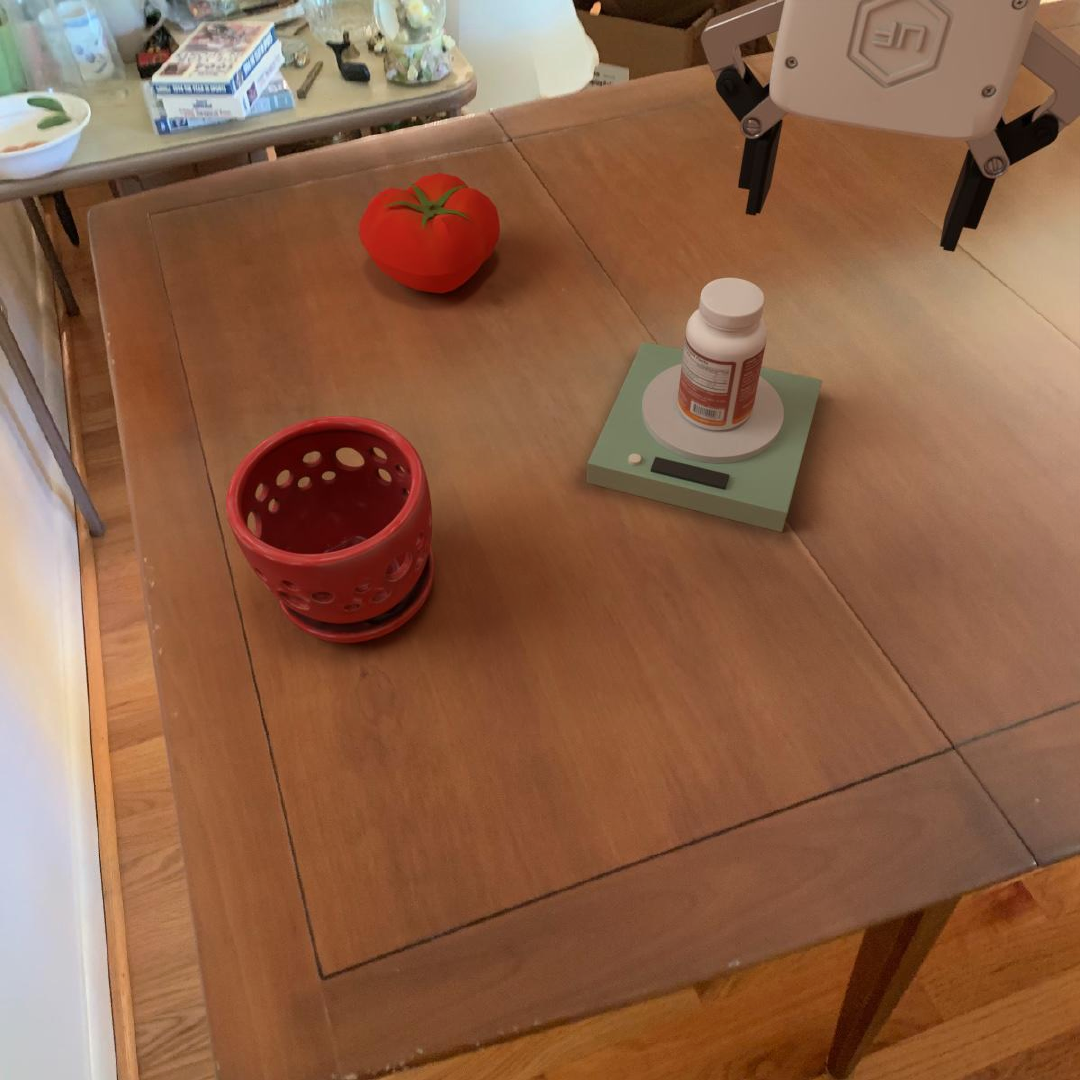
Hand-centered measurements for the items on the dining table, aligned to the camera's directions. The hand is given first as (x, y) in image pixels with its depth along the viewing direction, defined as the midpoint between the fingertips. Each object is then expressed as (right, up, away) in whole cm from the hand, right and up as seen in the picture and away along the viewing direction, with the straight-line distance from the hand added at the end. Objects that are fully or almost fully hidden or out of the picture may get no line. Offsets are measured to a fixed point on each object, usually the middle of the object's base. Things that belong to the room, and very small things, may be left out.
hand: (851, 218), depth 50 cm
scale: (-2, -8, +33) cm, 34 cm away
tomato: (-26, +10, +48) cm, 56 cm away
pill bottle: (-2, -6, +31) cm, 31 cm away
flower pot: (-30, -20, +23) cm, 43 cm away
